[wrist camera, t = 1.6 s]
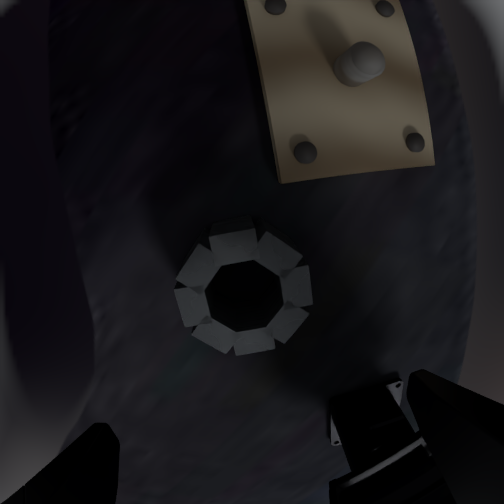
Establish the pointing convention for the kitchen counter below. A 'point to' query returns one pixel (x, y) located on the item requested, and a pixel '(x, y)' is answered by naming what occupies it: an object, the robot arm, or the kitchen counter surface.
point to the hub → (248, 312)
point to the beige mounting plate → (339, 87)
